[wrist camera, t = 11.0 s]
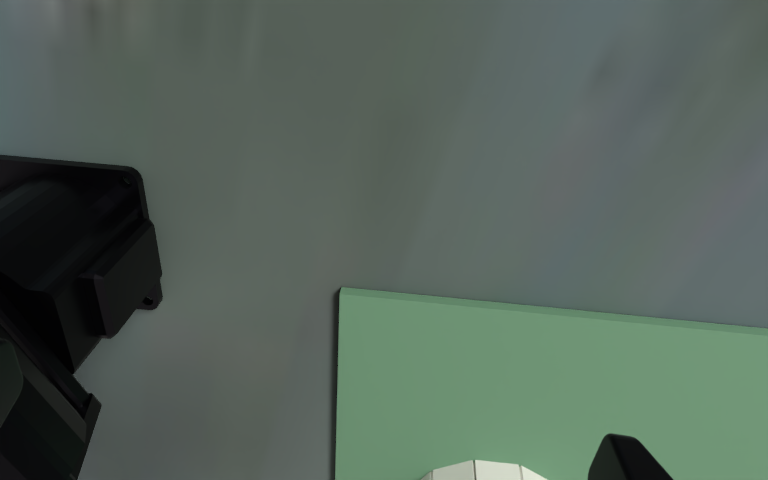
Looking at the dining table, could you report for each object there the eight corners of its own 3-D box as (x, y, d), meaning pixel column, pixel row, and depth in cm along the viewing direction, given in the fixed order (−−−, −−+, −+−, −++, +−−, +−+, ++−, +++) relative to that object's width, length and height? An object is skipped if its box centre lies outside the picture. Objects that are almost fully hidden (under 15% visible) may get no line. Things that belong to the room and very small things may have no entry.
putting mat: (334, 551, 33) (333, 560, 32) (341, 287, 23) (339, 294, 23) (715, 596, 32) (718, 605, 32) (883, 339, 22) (892, 347, 22)
